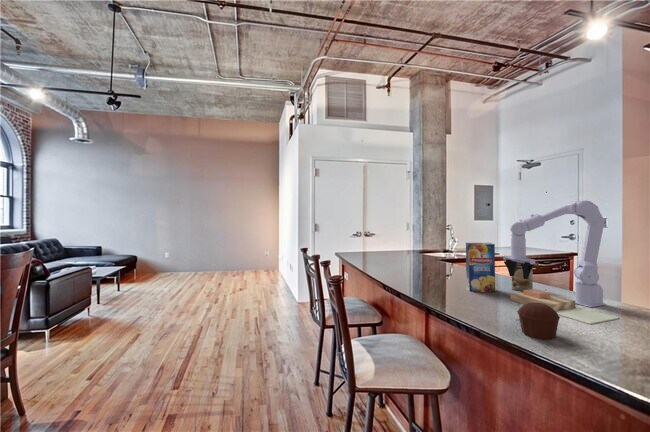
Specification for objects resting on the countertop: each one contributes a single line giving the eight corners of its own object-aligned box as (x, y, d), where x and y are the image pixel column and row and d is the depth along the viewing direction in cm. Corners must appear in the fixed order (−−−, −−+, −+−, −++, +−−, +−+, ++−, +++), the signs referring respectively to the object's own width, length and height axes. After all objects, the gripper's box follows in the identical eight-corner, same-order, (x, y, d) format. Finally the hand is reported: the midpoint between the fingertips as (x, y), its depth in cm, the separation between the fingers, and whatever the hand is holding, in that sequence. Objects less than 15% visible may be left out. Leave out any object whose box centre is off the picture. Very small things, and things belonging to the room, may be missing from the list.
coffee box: (511, 289, 156) (511, 258, 156) (511, 287, 161) (511, 256, 161) (533, 292, 151) (532, 259, 151) (532, 289, 156) (532, 257, 156)
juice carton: (469, 291, 154) (468, 244, 154) (466, 287, 161) (465, 242, 161) (495, 292, 151) (494, 244, 151) (491, 288, 158) (490, 242, 158)
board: (533, 296, 142) (533, 290, 142) (575, 308, 125) (575, 300, 125) (510, 300, 138) (510, 293, 138) (551, 312, 121) (551, 304, 121)
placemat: (579, 308, 124) (579, 307, 124) (619, 318, 112) (619, 317, 112) (552, 313, 119) (551, 312, 119) (589, 324, 107) (589, 323, 107)
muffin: (534, 326, 106) (534, 297, 106) (569, 338, 96) (568, 306, 96) (509, 331, 102) (508, 301, 102) (542, 344, 92) (541, 311, 92)
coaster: (534, 293, 138) (534, 288, 138) (550, 297, 131) (550, 292, 131) (523, 294, 135) (523, 290, 135) (538, 298, 129) (538, 294, 129)
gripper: (498, 247, 147) (498, 275, 147) (526, 250, 133) (527, 281, 133) (509, 246, 149) (509, 274, 149) (538, 249, 135) (538, 280, 135)
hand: (518, 277), depth 141 cm, fingers open, 6 cm apart
